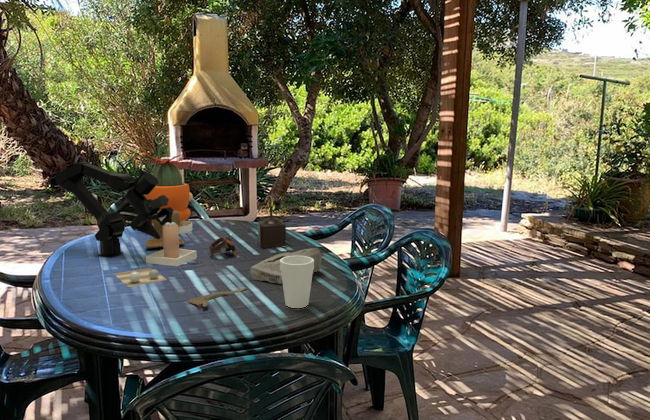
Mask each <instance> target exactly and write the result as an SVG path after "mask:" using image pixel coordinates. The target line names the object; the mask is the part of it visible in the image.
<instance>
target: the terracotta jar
mask: <svg viewBox="0 0 650 420" xmlns="http://www.w3.org/2000/svg"><path fill="white" fill-rule="evenodd" d="M179 235H180V234H179V231H178V224H176V223H175V222H172V223H169V222H167V223H165V225H163V247H162V248H163V249H164V257H166V258H175V259H176V258H179V249H180V245H179V239H180V236H179ZM163 249H162V250H163Z"/></svg>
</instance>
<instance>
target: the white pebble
mask: <svg viewBox="0 0 650 420" xmlns="http://www.w3.org/2000/svg"><path fill="white" fill-rule="evenodd" d="M133 271H134V270H133ZM140 277H141V276H140V273H139V272H136V271H134V272H131V273H130V275H129V280H130V281H131V282H138V281H139V280H140Z"/></svg>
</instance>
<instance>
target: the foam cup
mask: <svg viewBox="0 0 650 420" xmlns="http://www.w3.org/2000/svg"><path fill="white" fill-rule="evenodd" d="M313 269H314V259H313V258H311V257H307V256H287V257H283V258H281V259H280V270H281V275H282V282H283V283H282V288H283V296H284V301H285V302H284V303H285V307H286V306H288V307H291V308H303V307H306V306H307V305H308V306H309V303H310V296H311V295H310V294H311V287H312V282H313V281H312V280H313V274H314V273H313ZM308 306H307V307H308ZM288 307H287V308H288ZM307 307H306V308H307ZM303 309H304V308H303Z"/></svg>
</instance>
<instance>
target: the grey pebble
mask: <svg viewBox="0 0 650 420" xmlns="http://www.w3.org/2000/svg"><path fill="white" fill-rule="evenodd" d="M159 274H160V272H159V271H158V269H153V270H151V271H150V272H149V277H150V278H152V279H155V278H157V277H158V276H159Z"/></svg>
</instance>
